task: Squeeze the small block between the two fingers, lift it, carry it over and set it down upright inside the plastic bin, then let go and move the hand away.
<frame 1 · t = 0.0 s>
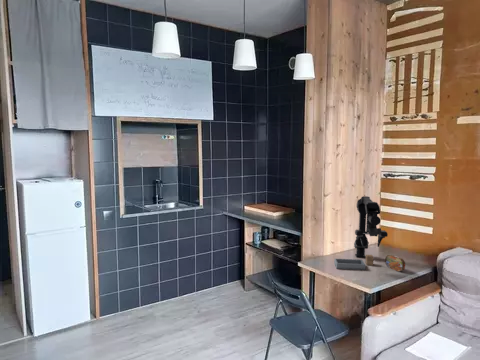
hand: (370, 246, 234), 15 cm above the table, tool pointing down, fingers open, 9 cm apart
tin: (394, 269, 235), on the table
bin: (349, 266, 239), on the table
block: (369, 264, 245), on the table
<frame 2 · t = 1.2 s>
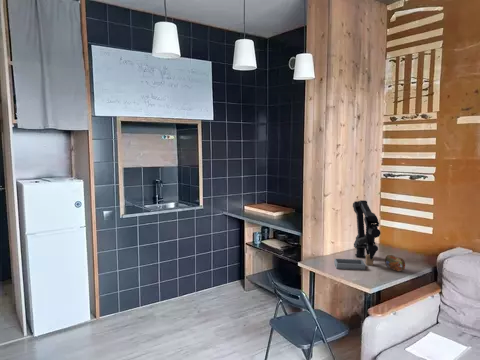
hand: (369, 257, 245), 5 cm above the table, tool pointing down, fingers open, 9 cm apart
nothing on the table moved.
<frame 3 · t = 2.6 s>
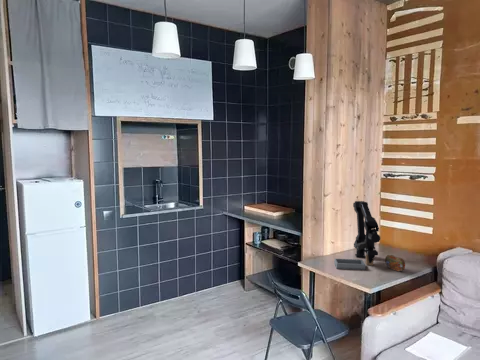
hand: (369, 262, 245), 2 cm above the table, tool pointing down, fingers closed on block, 4 cm apart
block: (369, 264, 245), on the table, touching gripper
everything else where it was.
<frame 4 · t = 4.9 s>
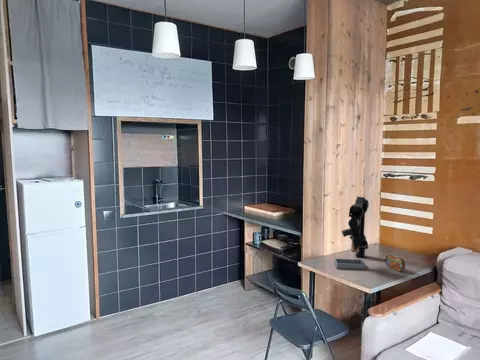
hand: (354, 249, 239), 11 cm above the table, tool pointing down, fingers closed on block, 4 cm apart
block: (354, 251, 239), point 10 cm above the table, touching gripper
everything else where it was.
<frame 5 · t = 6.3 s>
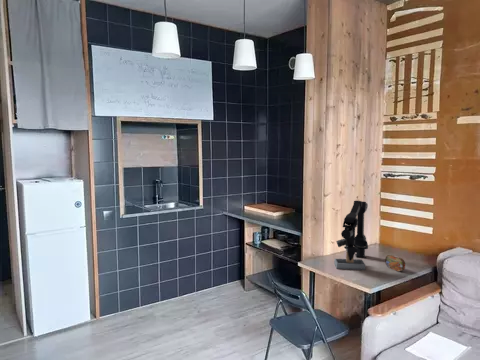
hand: (349, 259, 239), 5 cm above the table, tool pointing down, fingers closed on block, 4 cm apart
block: (349, 261, 239), point 3 cm above the table, touching gripper
everything else where it was.
when the fingers open (4 cm above the table, at t = 7.2 s): block drops 1 cm, resting on bin.
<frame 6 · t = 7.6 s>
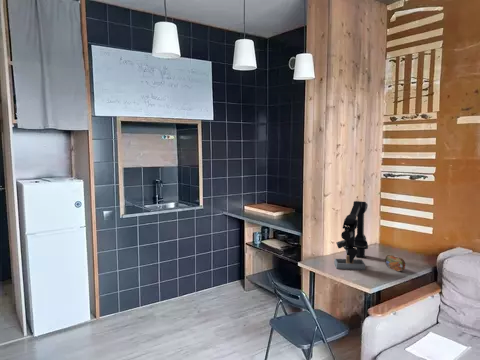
hand: (349, 260, 239), 4 cm above the table, tool pointing down, fingers open, 8 cm apart
block: (349, 265, 239), point 1 cm above the table, touching bin
everything else where it was.
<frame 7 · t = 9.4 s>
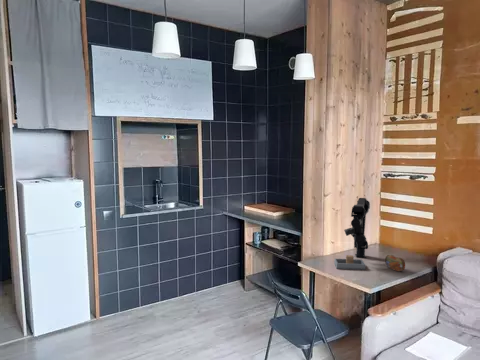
hand: (357, 247, 247), 11 cm above the table, tool pointing down, fingers open, 9 cm apart
nothing on the table moved.
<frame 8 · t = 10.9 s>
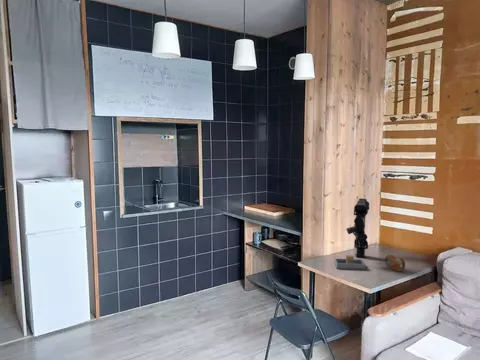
hand: (359, 246, 248), 11 cm above the table, tool pointing down, fingers open, 9 cm apart
nothing on the table moved.
at the end: block inside the target area on the bin (0.1 cm from its centre), point 1.0 cm above the bin's base; block tilted 0°; the gripper is holding nothing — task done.
